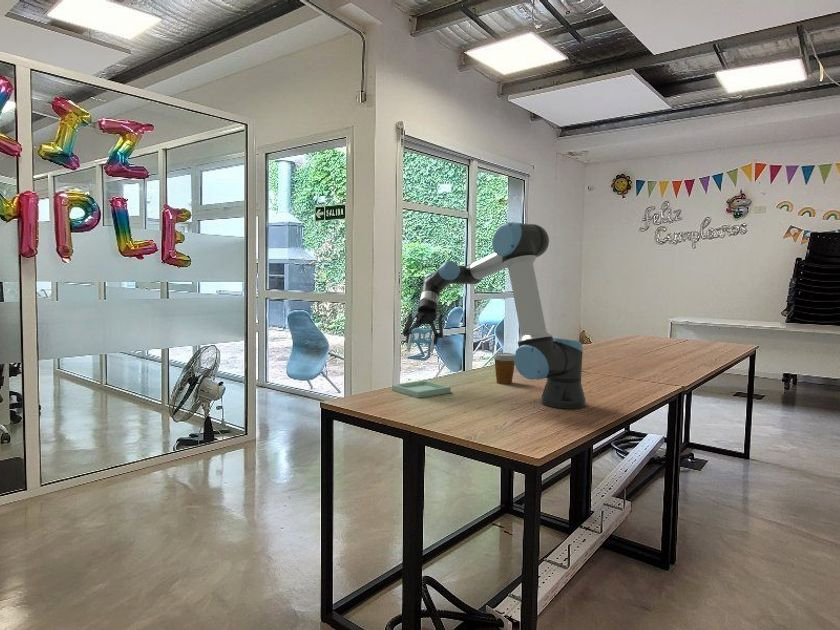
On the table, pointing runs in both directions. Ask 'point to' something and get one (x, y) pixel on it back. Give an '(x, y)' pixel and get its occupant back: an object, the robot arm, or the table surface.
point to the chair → (423, 341)
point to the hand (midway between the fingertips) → (419, 350)
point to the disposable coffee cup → (504, 367)
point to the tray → (421, 388)
